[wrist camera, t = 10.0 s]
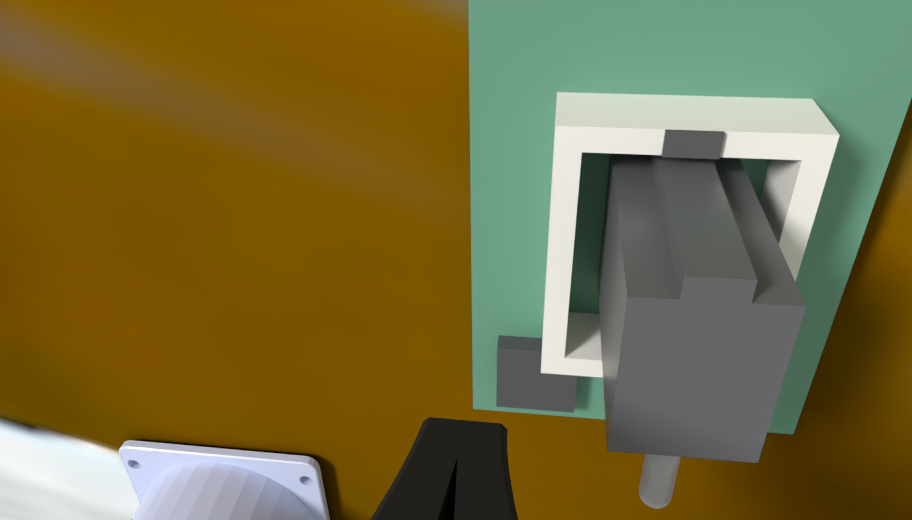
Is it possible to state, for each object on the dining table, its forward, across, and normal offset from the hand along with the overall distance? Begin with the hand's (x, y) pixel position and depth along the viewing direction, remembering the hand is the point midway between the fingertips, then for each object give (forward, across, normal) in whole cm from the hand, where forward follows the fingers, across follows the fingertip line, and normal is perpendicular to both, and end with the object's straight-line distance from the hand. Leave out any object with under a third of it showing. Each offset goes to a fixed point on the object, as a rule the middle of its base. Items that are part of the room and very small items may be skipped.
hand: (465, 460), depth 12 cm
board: (+9, -4, 0) cm, 10 cm away
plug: (+8, -4, +1) cm, 9 cm away
